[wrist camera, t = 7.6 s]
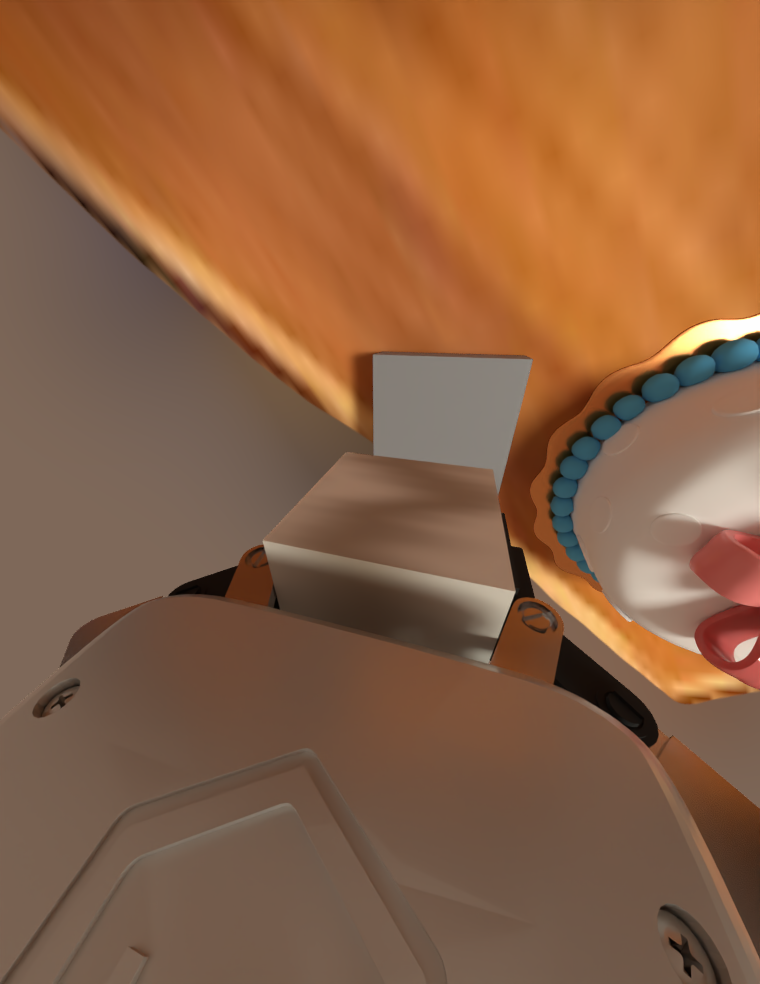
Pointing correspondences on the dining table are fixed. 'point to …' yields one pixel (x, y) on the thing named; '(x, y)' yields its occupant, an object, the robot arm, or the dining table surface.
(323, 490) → the cube
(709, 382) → the wedding cake
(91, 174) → the dining table surface
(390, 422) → the stand
